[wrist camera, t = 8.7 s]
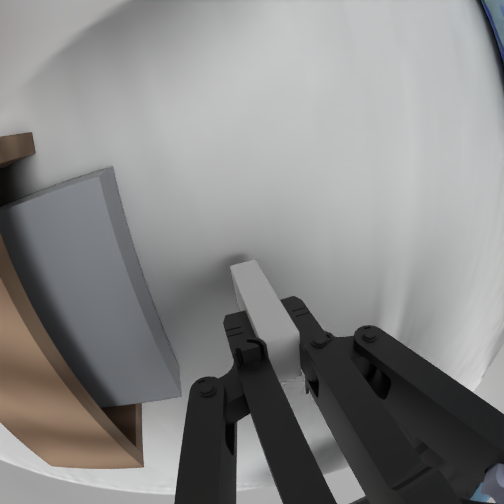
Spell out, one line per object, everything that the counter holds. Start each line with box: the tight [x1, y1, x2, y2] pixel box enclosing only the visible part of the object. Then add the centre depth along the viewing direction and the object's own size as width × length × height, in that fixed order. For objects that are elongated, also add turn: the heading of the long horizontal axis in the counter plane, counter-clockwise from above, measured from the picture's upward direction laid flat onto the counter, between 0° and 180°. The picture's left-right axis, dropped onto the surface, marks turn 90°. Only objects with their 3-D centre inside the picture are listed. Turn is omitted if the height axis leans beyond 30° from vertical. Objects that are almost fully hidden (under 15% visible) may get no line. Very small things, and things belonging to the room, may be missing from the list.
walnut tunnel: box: [0, 132, 144, 469], centre depth 13 cm, size 22×9×7 cm, turn 8°
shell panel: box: [0, 167, 182, 407], centre depth 15 cm, size 15×12×4 cm
